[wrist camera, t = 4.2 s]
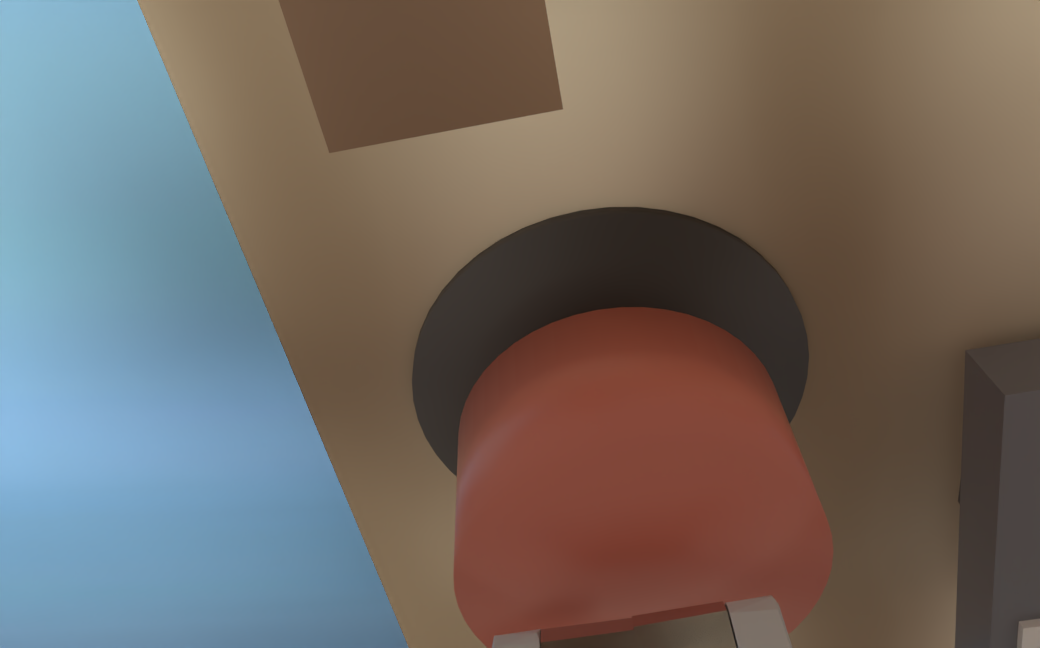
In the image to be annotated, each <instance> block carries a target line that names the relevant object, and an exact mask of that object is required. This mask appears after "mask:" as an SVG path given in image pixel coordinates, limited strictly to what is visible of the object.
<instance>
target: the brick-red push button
mask: <svg viewBox="0 0 1040 648" xmlns="http://www.w3.org/2000/svg"><path fill="white" fill-rule="evenodd" d="M832 560H833V540H832V533H831V530H830V527H829V523H828V520H827V517H826V515H825V512H824V510H823V507H822V505H821V502H820V500H819V497H818V495H817V492H816V489H815V487H814V484H813V482H812V479H811V477H810V474H809V472H808V469H807V467H806V464H805V462H804V459H803V457H802V454H801V452H800V449H799V447H798V444H797V442H796V439H795V437H794V434H793V432H792V429H791V427H790V424H789V422H788V419H787V416H786V414H785V411H784V409H783V406H782V404H781V401H780V399H779V396H778V394H777V391H776V389H775V386H774V384H773V382H772V380H771V378H770V376H769V374H768V372H767V370H766V368H765V367H764V365H763V364H762V363H761V362H760V360H759V359H758V358H757V356H756V355H755V354H754V353H753V352H752V351H751V350H750V349H749V348H748V347H747V346H746V345H745V344H744V343H743V342H742V341H740V340H739V339H737V338H736V337H734V336H733V335H731V334H730V333H729V332H727V331H726V330H724V329H722V328H720V327H718V326H716V325H714V324H712V323H710V322H708V321H705V320H702V319H700V318H697V317H694V316H691V315H688V314H684V313H680V312H675V311H671V310H666V309H657V308H647V307H618V308H610V309H601V310H594V311H590V312H586V313H581V314H577V315H573V316H570V317H567V318H564V319H561V320H558V321H555V322H552V323H550V324H548V325H546V326H544V327H542V328H540V329H538V330H536V331H533V332H532V333H530V334H528V335H527V336H525V337H523V338H522V339H520V340H519V341H517V342H515V343H514V344H513V345H511V346H510V347H509V348H508V349H506V350H505V351H504V352H503V353H501V354H500V355H499V356H498V357H497V358H496V359H495V360H494V361H493V362H492V363H491V364H490V365H489V366H488V367H487V368H486V369H485V370H484V372H483V373H482V375H481V376H480V377H479V379H478V380H477V382H476V383H475V384H474V386H473V388H472V390H471V392H470V394H469V396H468V398H467V400H466V402H465V405H464V408H463V411H462V414H461V418H460V425H459V432H458V457H457V485H456V514H455V542H454V570H453V577H454V592H455V596H456V600H457V604H458V607H459V609H460V611H461V614H462V616H463V618H464V620H465V622H466V623H467V625H468V626H469V627H470V629H471V630H472V632H473V633H474V635H475V636H476V637H477V638H478V639H479V640H480V641H481V642H482V643H483V644H484V645H485V646H486V647H487V648H492V644H493V639H494V636H496V635H503V634H510V633H517V632H524V631H530V630H537V629H548V628H556V627H563V626H571V625H579V624H587V623H594V622H602V621H610V620H617V619H625V618H632V616H635V615H641V614H648V613H654V612H660V611H666V610H672V609H678V608H684V607H690V606H696V605H703V604H709V603H715V602H721V601H723V603H724V604H725V603H726V602H732V601H738V600H744V599H750V598H756V597H762V596H767V595H772V596H773V598H774V599H775V600H776V602H777V603H778V604H779V607H780V610H781V613H782V616H783V619H784V622H785V626H786V629H787V632H788V634H789V633H791V632H792V631H793V630H794V629H795V628H796V627H797V626H798V625H799V624H800V623H801V622H802V621H803V620H804V619H805V618H806V617H807V615H808V614H809V613H810V611H811V610H812V609H813V607H814V606H815V604H816V603H817V602H818V600H819V598H820V596H821V594H822V592H823V590H824V589H825V587H826V585H827V581H828V578H829V575H830V572H831V568H832Z"/></svg>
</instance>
